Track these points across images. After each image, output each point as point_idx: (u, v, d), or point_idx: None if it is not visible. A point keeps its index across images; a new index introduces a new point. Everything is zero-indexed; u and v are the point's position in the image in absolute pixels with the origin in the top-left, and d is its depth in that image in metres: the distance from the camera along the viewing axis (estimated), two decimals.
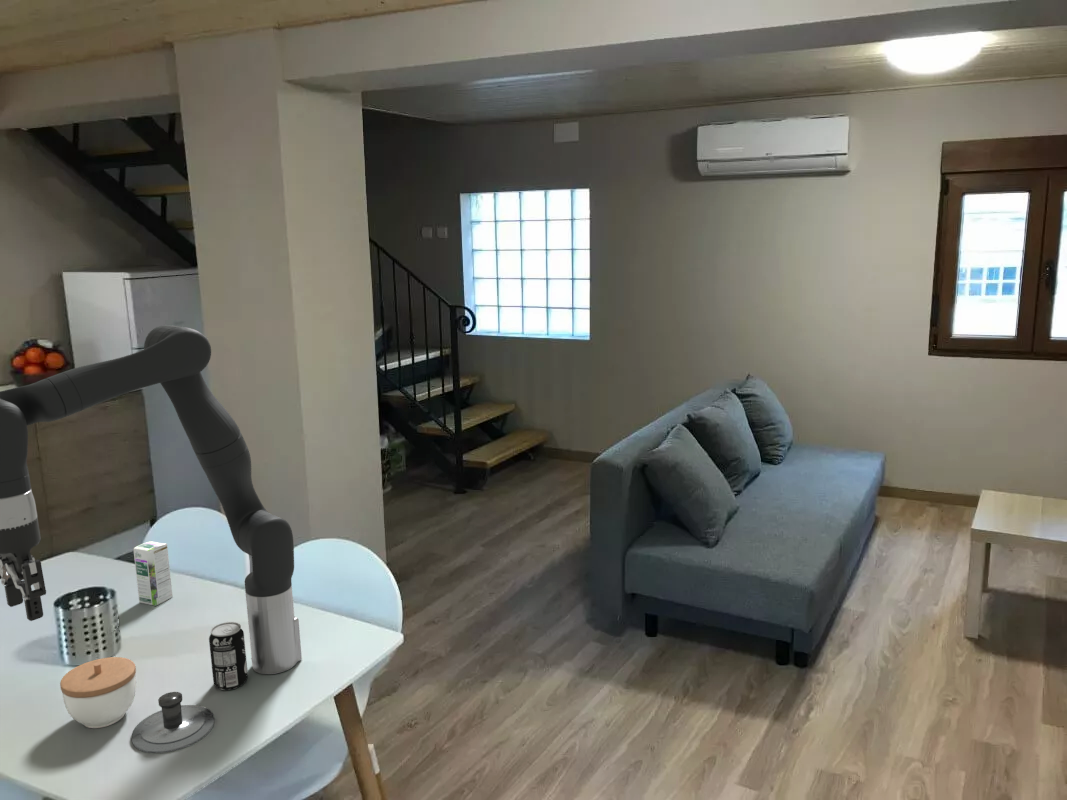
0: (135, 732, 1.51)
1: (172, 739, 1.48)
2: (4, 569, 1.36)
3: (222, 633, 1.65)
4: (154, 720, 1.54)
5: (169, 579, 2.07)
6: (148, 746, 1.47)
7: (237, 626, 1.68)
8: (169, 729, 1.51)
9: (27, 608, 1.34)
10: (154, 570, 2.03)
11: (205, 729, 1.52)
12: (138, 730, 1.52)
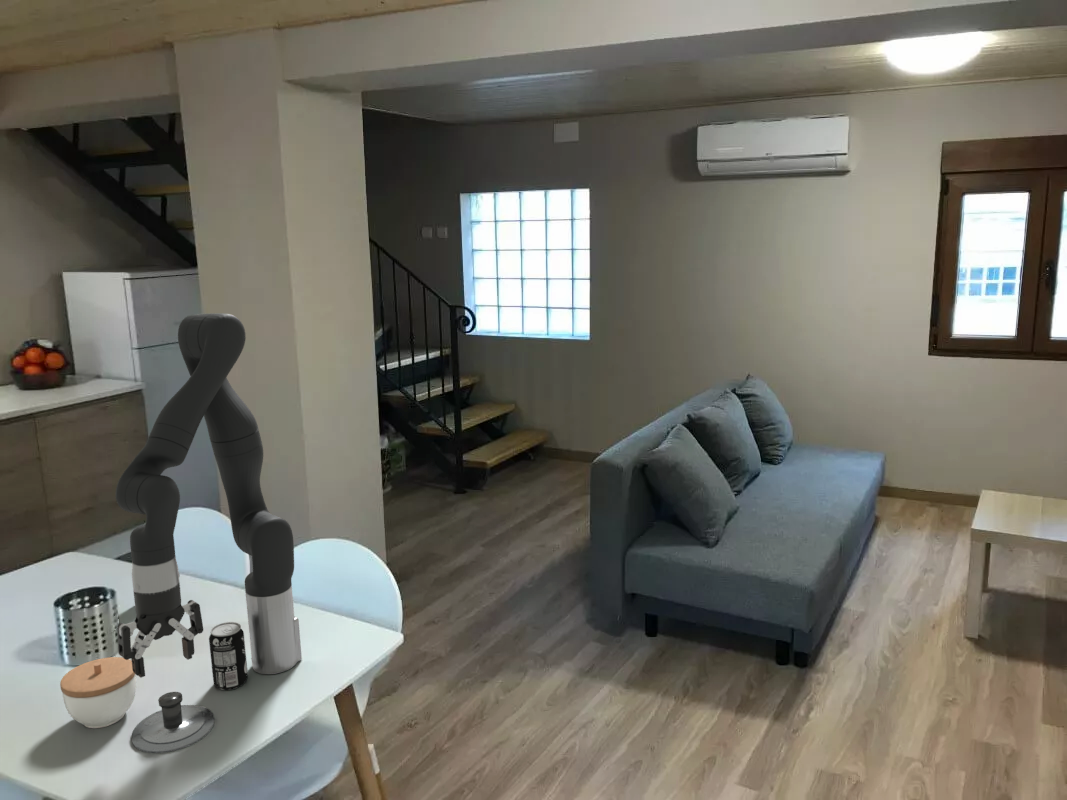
0: (135, 732, 1.51)
1: (172, 739, 1.48)
2: (156, 633, 1.47)
3: (222, 633, 1.65)
4: (154, 720, 1.54)
5: None
6: (148, 746, 1.47)
7: (237, 626, 1.68)
8: (169, 729, 1.51)
9: (190, 647, 1.53)
10: None
11: (205, 729, 1.52)
12: (138, 730, 1.52)
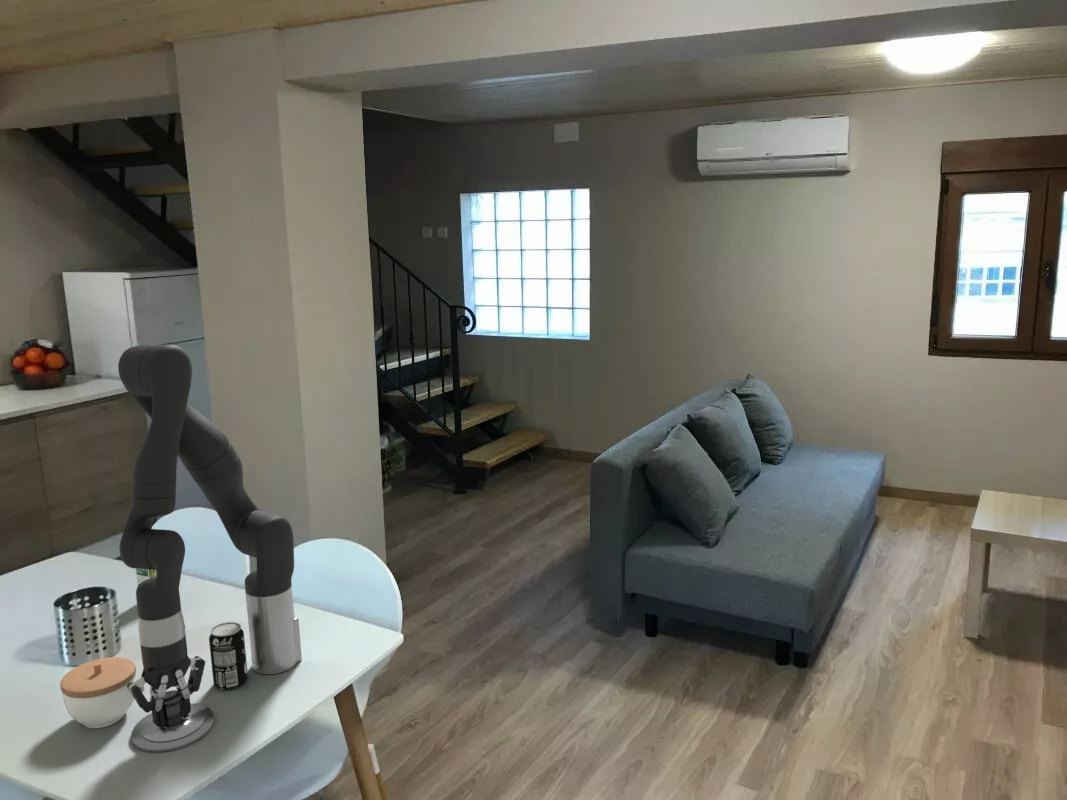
0: (135, 731, 1.51)
1: (172, 737, 1.48)
2: (166, 683, 1.49)
3: (222, 633, 1.65)
4: None
5: None
6: (148, 745, 1.47)
7: (237, 626, 1.68)
8: (169, 727, 1.51)
9: (187, 706, 1.53)
10: (154, 570, 2.03)
11: (205, 727, 1.52)
12: (138, 729, 1.52)
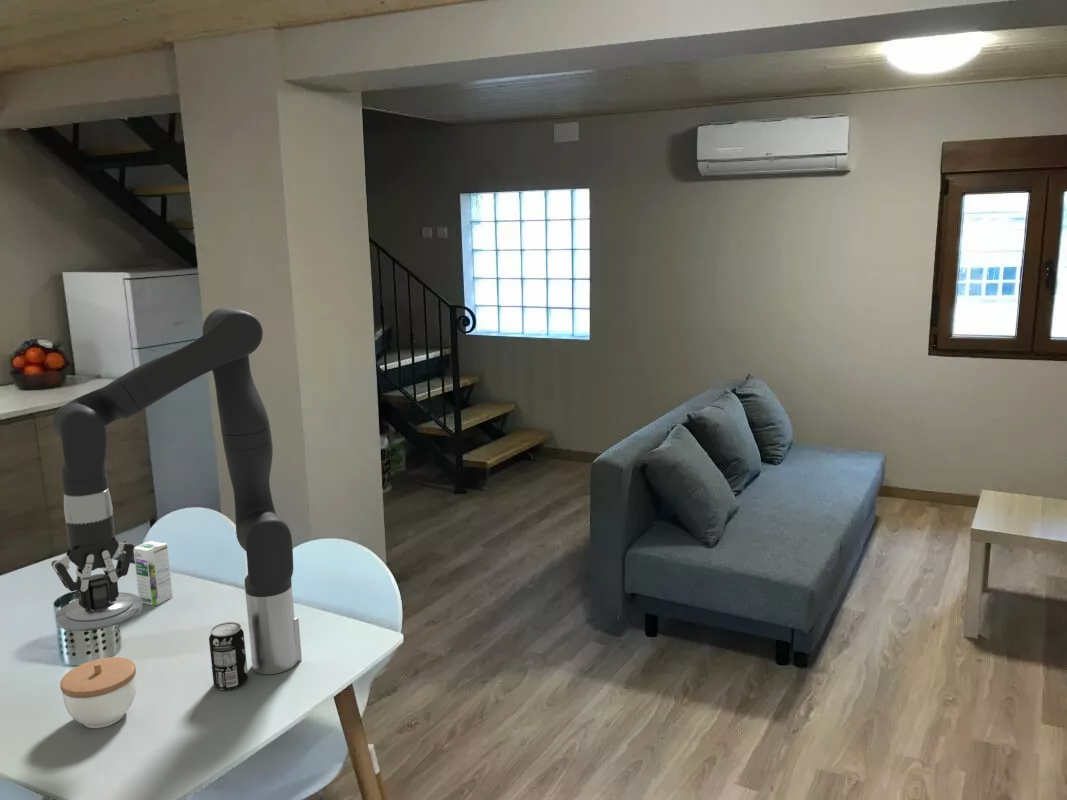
0: (60, 612, 1.50)
1: (97, 617, 1.47)
2: (92, 563, 1.48)
3: (222, 633, 1.65)
4: None
5: (169, 579, 2.07)
6: (72, 623, 1.45)
7: (237, 626, 1.68)
8: (95, 609, 1.50)
9: (114, 589, 1.52)
10: (154, 570, 2.03)
11: (132, 610, 1.51)
12: (63, 611, 1.50)
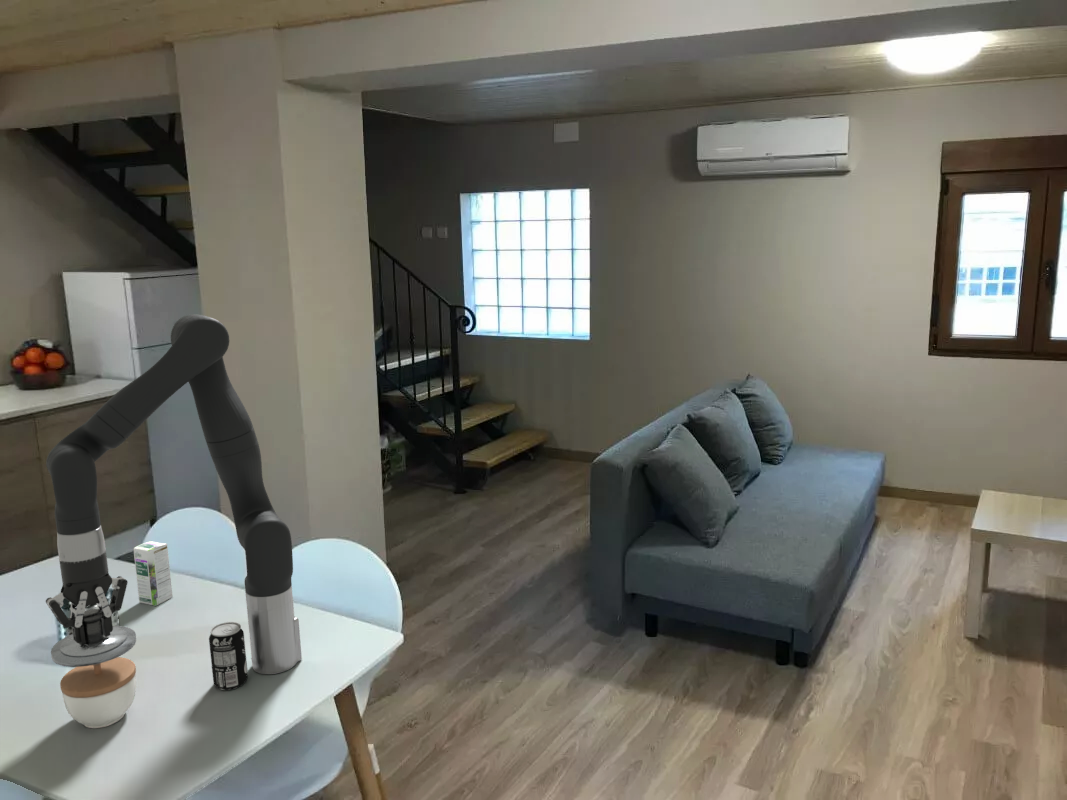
0: (55, 647, 1.52)
1: (91, 652, 1.49)
2: (85, 600, 1.51)
3: (222, 633, 1.65)
4: None
5: (169, 579, 2.07)
6: (66, 659, 1.48)
7: (237, 626, 1.68)
8: (89, 644, 1.52)
9: (108, 624, 1.55)
10: (154, 570, 2.03)
11: (125, 645, 1.53)
12: (58, 646, 1.53)
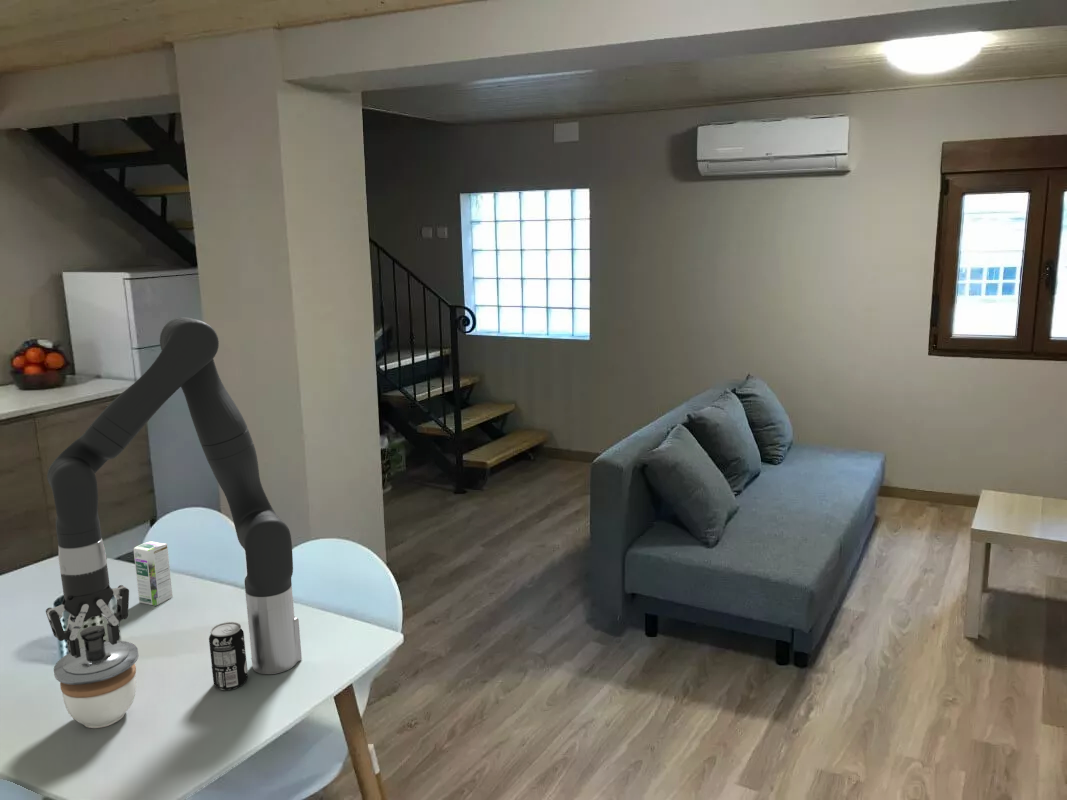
0: (58, 665, 1.53)
1: (93, 670, 1.50)
2: (85, 613, 1.51)
3: (222, 633, 1.65)
4: None
5: (169, 579, 2.07)
6: (69, 677, 1.49)
7: (237, 626, 1.68)
8: (91, 661, 1.53)
9: (115, 633, 1.56)
10: (154, 570, 2.03)
11: (127, 661, 1.54)
12: (61, 663, 1.54)
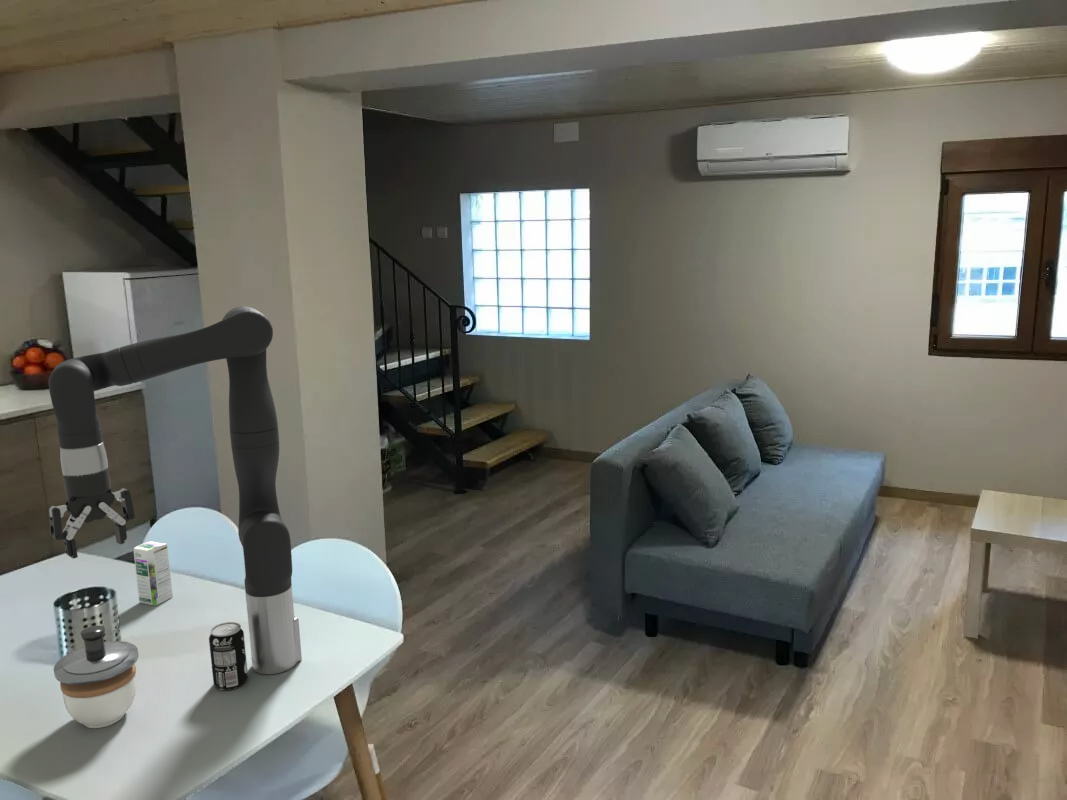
0: (58, 665, 1.53)
1: (93, 670, 1.50)
2: (86, 515, 1.53)
3: (222, 633, 1.65)
4: (78, 654, 1.56)
5: (169, 579, 2.07)
6: (69, 676, 1.49)
7: (237, 626, 1.68)
8: (91, 661, 1.53)
9: (122, 532, 1.59)
10: (154, 570, 2.03)
11: (127, 661, 1.54)
12: (61, 663, 1.54)
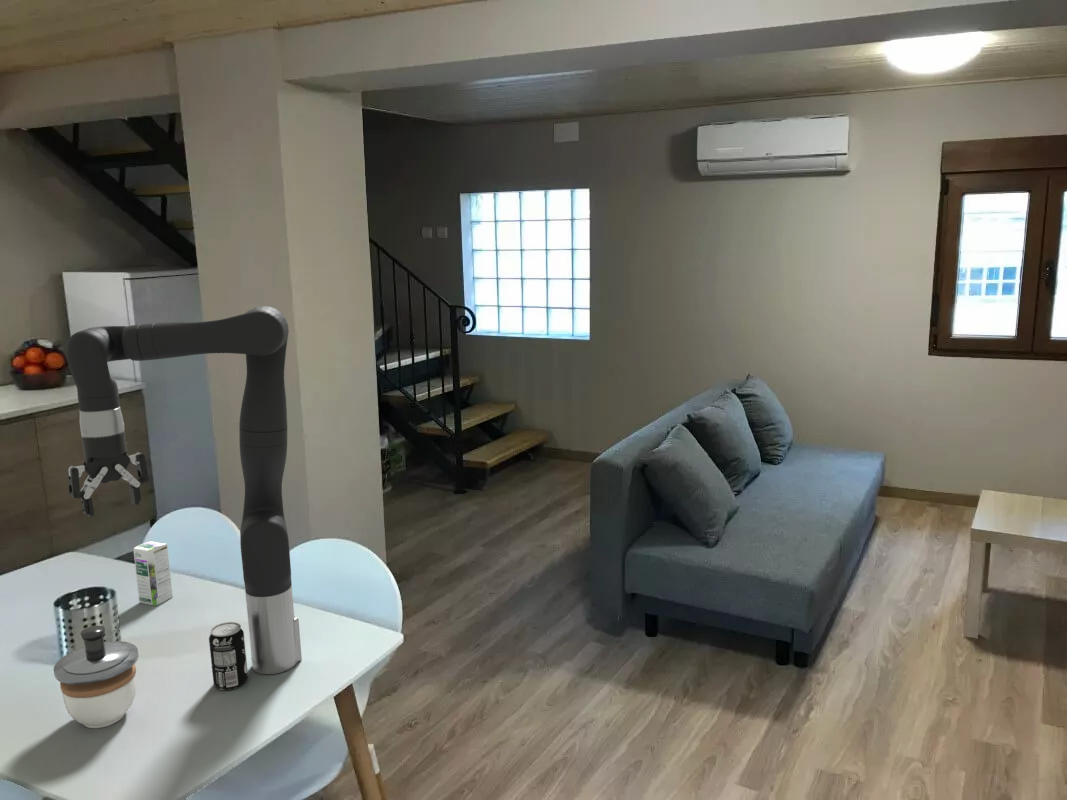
0: (58, 664, 1.53)
1: (93, 670, 1.50)
2: (103, 476, 1.61)
3: (222, 633, 1.65)
4: (78, 654, 1.56)
5: (169, 579, 2.07)
6: (69, 676, 1.49)
7: (237, 626, 1.68)
8: (91, 661, 1.53)
9: (137, 494, 1.67)
10: (154, 570, 2.03)
11: (127, 661, 1.54)
12: (61, 663, 1.54)
